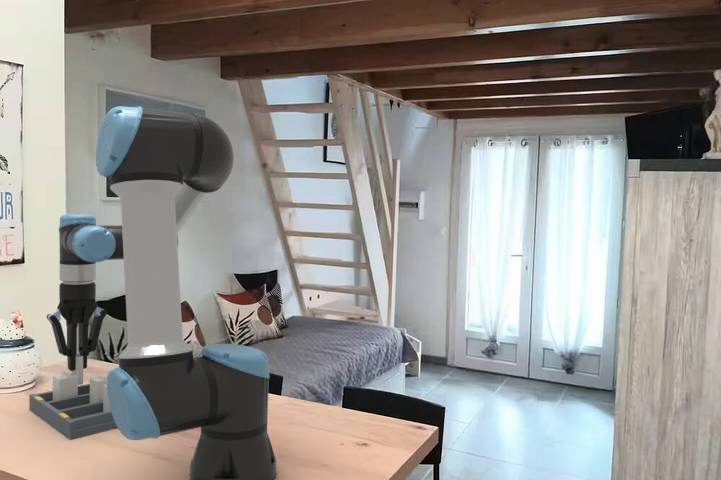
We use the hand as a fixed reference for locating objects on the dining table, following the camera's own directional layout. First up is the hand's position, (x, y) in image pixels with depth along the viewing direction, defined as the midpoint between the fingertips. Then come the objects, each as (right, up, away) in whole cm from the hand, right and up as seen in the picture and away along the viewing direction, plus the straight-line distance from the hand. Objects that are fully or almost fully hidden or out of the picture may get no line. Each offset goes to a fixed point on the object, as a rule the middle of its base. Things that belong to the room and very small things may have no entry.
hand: (77, 383), depth 142 cm
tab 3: (-2, -4, -2) cm, 5 cm away
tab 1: (+12, -5, -7) cm, 15 cm away
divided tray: (+4, -6, -5) cm, 9 cm away
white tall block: (+7, -4, -3) cm, 8 cm away
